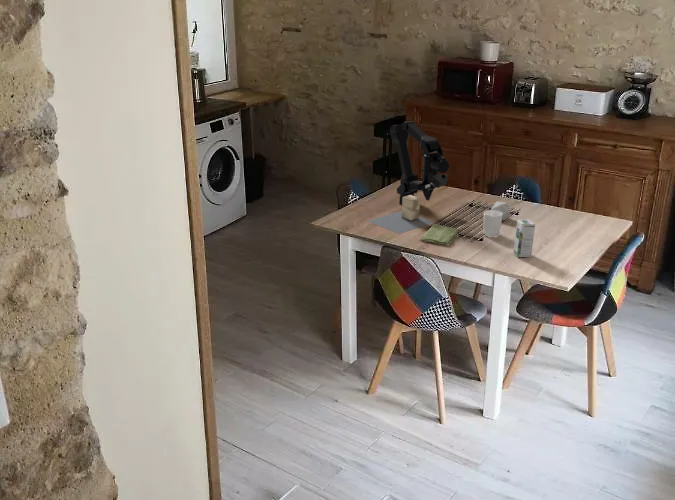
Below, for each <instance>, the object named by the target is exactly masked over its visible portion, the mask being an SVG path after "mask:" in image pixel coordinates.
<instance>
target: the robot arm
mask: <svg viewBox="0 0 675 500" xmlns="http://www.w3.org/2000/svg"><path fill="white" fill-rule="evenodd" d="M389 134H390V137H391V140H392V141H393V143H395V145H396V149H397V154H398V159H399V164H400V165H399V166H400V169H401V177H400V179H399V181H400V184H399V186H398V187H397V188H396V194H398V195H399V205H401V206H402V197H405V196H408V195H412V196H415V194H417V193H418V191H421V192H422V194H423V196H424V199H425V200H426V201H430V199H431V196H432V193H433V192H434V190H435V189H436V188H441V187H444V186H445V185H446V183H448V180H449V179H448V178H449V177H448V174H446V173H447V171H448V170H449V168H450V163H449V162H448V160H447V157H445V156H444V150H443V148H442V146H441V143H440V141H439V140H438V139H437V138H435V137H433V136H429V135H428V134H426V133H425V132H424V131H423V130H422V129H421V128H420V127H419V126H417V124H416V123H415V121H412V120H409V121H404V122H401V123H399V124H393V125H391V127H390V129H389ZM409 136H411V137H412V138H413V140H415V141H416V142H418V144H419V148H420V149H421V151H422V153H421V154H420V156H422V157H423V162H422V163H423V165H422V168H421V169H420V172H422V177H420V179H419V175H418V174H415V173H414V172H413V167H412V163H411V157H410V152H409V147H408V139H409ZM439 173H441V174H439Z"/></svg>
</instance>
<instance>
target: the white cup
mask: <svg viewBox="0 0 675 500" xmlns="http://www.w3.org/2000/svg"><path fill="white" fill-rule="evenodd" d="M502 215H503V213H502V212H500V211H496V210H491V209H488V210H485V211H483V223H482V224H483V225H482V227H483V232H482V233H483V234H485V235H486V236H491V237H494V236H498V235H499V236H500V232H501V231H500V230H501V227H502V221H503V220H502ZM483 234H482V235H483ZM486 236H485V237H486ZM499 236H498V237H499ZM491 237H490V238H491Z"/></svg>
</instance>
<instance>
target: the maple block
mask: <svg viewBox="0 0 675 500" xmlns="http://www.w3.org/2000/svg"><path fill="white" fill-rule="evenodd" d="M420 202H421V198H420V197H418V196H415V195H414V196H412V195H408V196H405V197H402V205H401V211H402V218H403V219H405V220H408V221H411V222H412V221H415V220H418V219H419V217H420V207H421V203H420Z"/></svg>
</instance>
